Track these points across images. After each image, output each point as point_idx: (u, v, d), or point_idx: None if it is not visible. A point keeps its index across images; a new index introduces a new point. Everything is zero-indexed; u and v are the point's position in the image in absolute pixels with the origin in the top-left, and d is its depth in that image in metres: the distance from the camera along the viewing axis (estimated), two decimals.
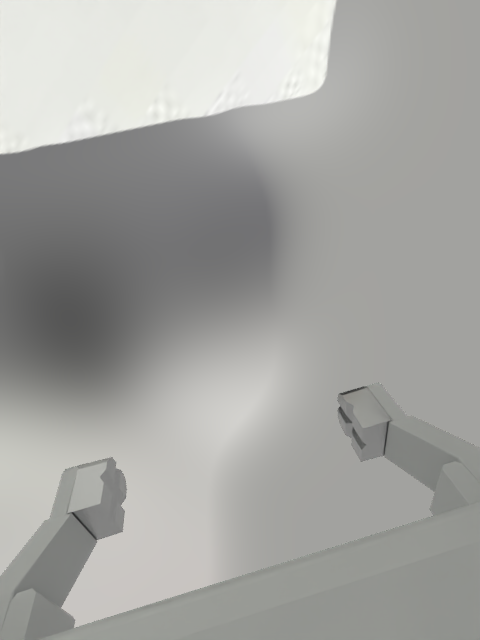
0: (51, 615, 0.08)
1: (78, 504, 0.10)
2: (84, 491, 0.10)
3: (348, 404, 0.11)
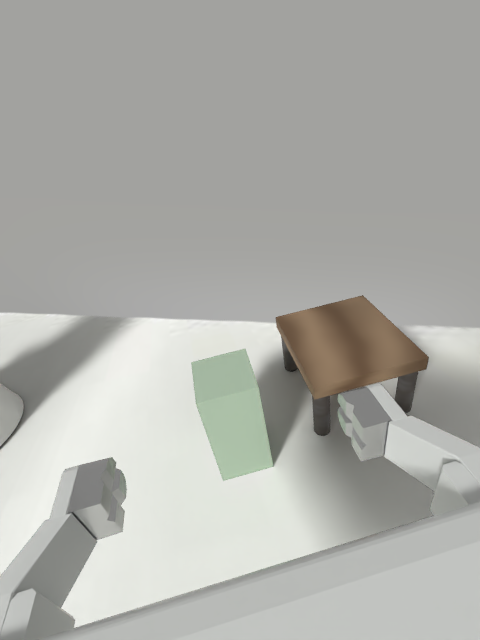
0: (51, 615, 0.08)
1: (78, 504, 0.10)
2: (84, 491, 0.10)
3: (348, 404, 0.11)
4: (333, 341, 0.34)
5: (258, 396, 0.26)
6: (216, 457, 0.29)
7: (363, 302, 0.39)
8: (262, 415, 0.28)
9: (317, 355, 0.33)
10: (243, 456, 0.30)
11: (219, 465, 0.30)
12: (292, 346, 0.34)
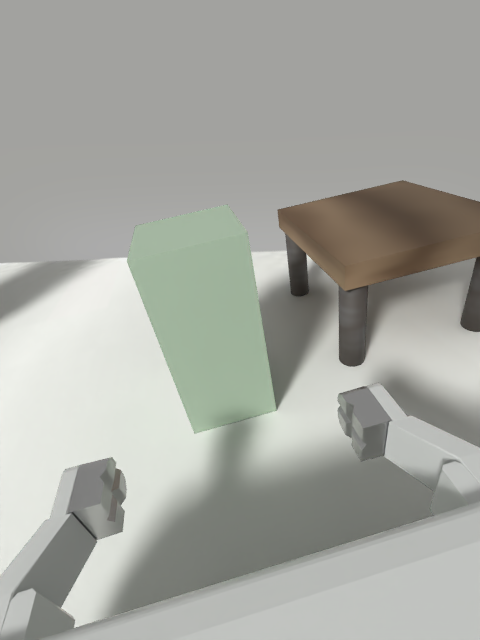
0: (51, 615, 0.08)
1: (78, 504, 0.10)
2: (84, 491, 0.10)
3: (348, 404, 0.11)
4: (369, 219, 0.22)
5: (247, 256, 0.14)
6: (178, 387, 0.17)
7: (405, 184, 0.27)
8: (256, 302, 0.15)
9: (345, 234, 0.20)
10: (225, 388, 0.18)
11: (185, 403, 0.18)
12: (304, 230, 0.22)
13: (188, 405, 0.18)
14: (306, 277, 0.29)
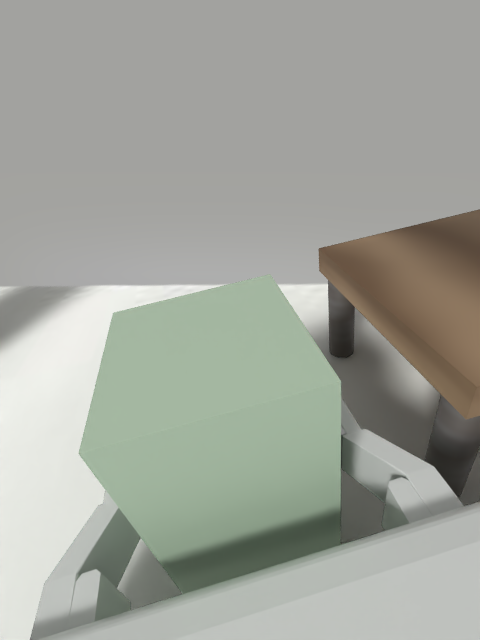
0: (113, 596, 0.08)
1: None
2: None
3: None
4: (469, 277, 0.15)
5: (334, 417, 0.07)
6: None
7: None
8: (336, 479, 0.08)
9: (443, 307, 0.13)
10: None
11: None
12: (371, 292, 0.15)
13: None
14: (352, 335, 0.22)
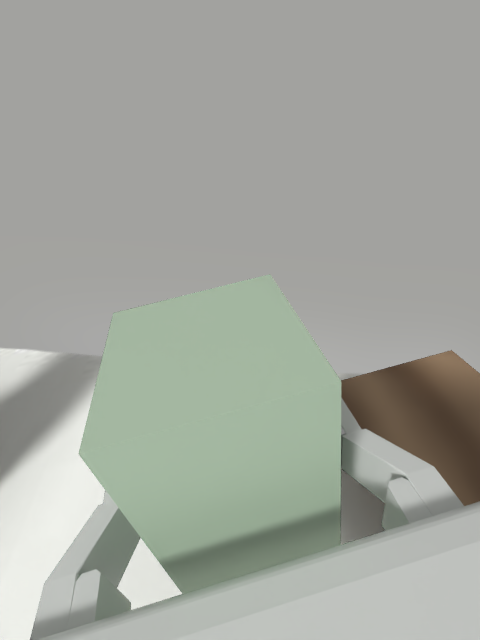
0: (113, 596, 0.08)
1: None
2: None
3: None
4: (430, 439, 0.21)
5: (334, 418, 0.07)
6: None
7: (457, 362, 0.26)
8: (336, 479, 0.08)
9: None
10: None
11: None
12: None
13: None
14: None
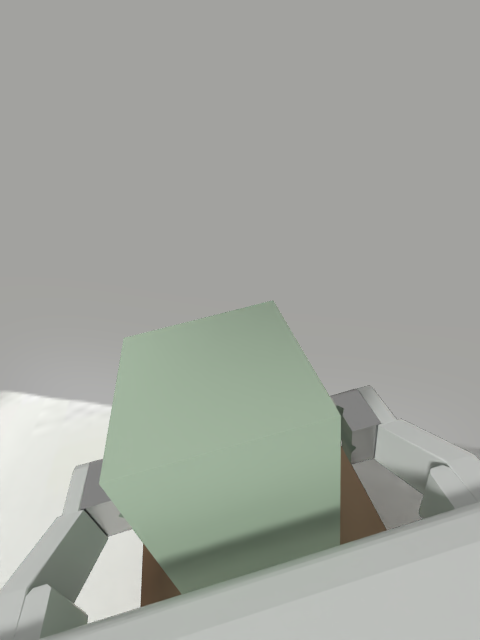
0: (65, 611, 0.08)
1: (90, 501, 0.10)
2: (96, 488, 0.10)
3: (338, 407, 0.11)
4: None
5: (334, 446, 0.07)
6: None
7: None
8: (336, 500, 0.09)
9: None
10: None
11: None
12: (144, 579, 0.15)
13: None
14: None
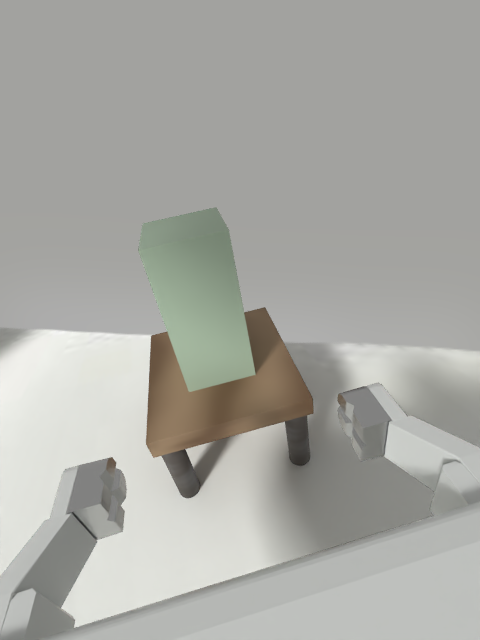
0: (51, 615, 0.08)
1: (78, 504, 0.10)
2: (84, 491, 0.10)
3: (348, 404, 0.11)
4: None
5: (229, 247, 0.19)
6: (176, 351, 0.22)
7: (262, 316, 0.30)
8: (236, 283, 0.20)
9: (174, 392, 0.24)
10: (213, 354, 0.22)
11: (181, 365, 0.22)
12: (150, 377, 0.26)
13: (184, 367, 0.22)
14: None
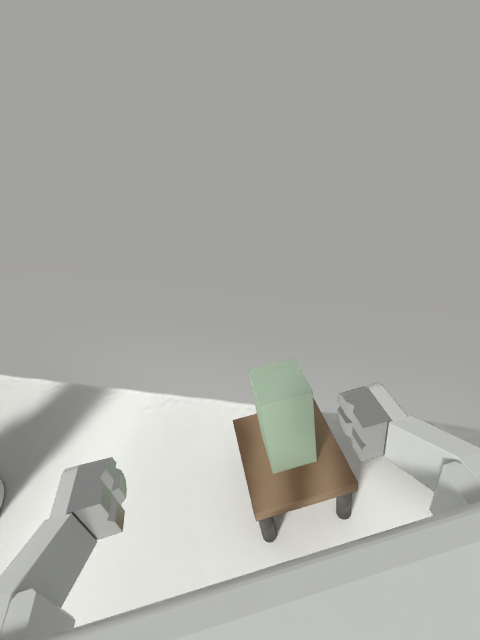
0: (51, 615, 0.08)
1: (78, 504, 0.10)
2: (84, 491, 0.10)
3: (348, 404, 0.11)
4: None
5: (311, 399, 0.31)
6: (270, 452, 0.34)
7: None
8: (312, 416, 0.32)
9: (262, 473, 0.36)
10: (292, 452, 0.34)
11: (271, 460, 0.34)
12: (242, 459, 0.38)
13: (273, 460, 0.35)
14: None
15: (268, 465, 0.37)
